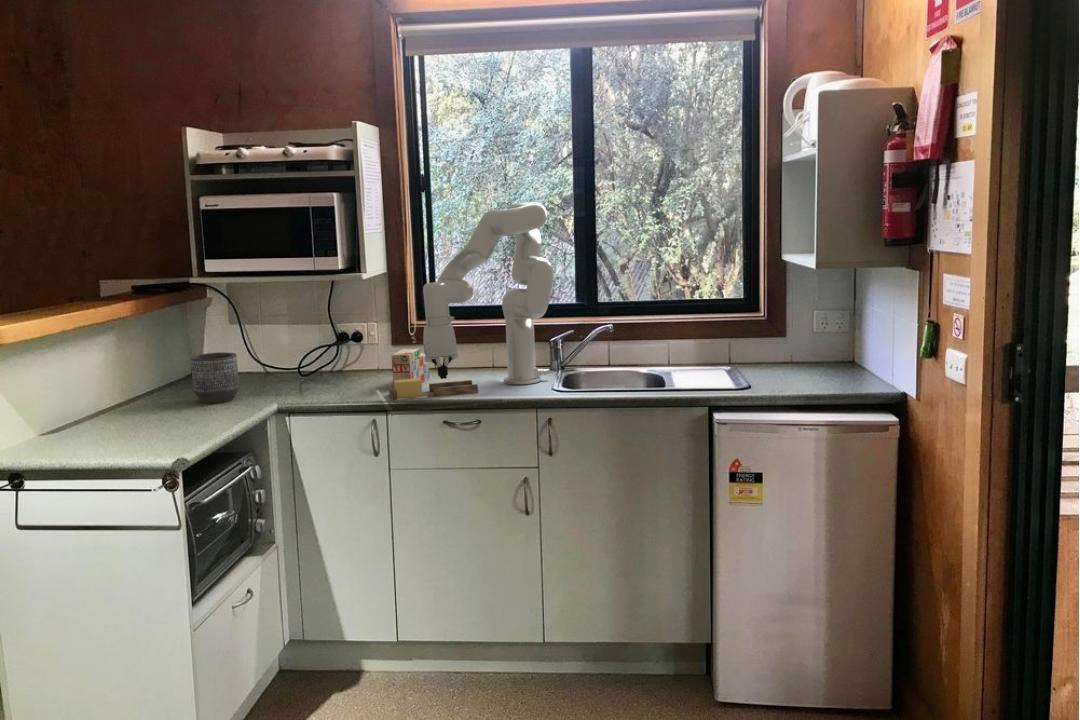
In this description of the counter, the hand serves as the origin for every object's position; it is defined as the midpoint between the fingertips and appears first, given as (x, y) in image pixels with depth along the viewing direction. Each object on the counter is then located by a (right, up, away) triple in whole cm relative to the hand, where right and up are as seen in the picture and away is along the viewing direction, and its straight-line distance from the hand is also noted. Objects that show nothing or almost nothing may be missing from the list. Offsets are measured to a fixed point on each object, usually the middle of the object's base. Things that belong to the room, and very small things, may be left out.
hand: (443, 378), depth 303 cm
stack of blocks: (-13, -3, +22) cm, 25 cm away
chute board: (-3, -6, 0) cm, 7 cm away
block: (-11, -6, -3) cm, 12 cm away
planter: (-74, -8, +5) cm, 74 cm away
